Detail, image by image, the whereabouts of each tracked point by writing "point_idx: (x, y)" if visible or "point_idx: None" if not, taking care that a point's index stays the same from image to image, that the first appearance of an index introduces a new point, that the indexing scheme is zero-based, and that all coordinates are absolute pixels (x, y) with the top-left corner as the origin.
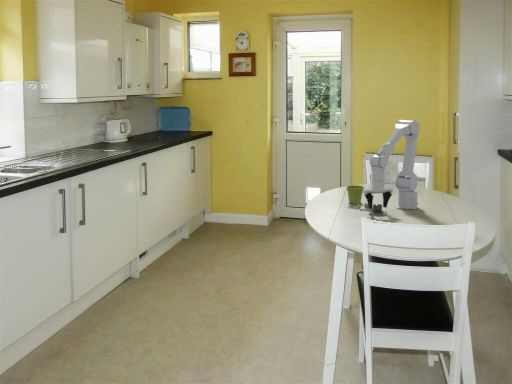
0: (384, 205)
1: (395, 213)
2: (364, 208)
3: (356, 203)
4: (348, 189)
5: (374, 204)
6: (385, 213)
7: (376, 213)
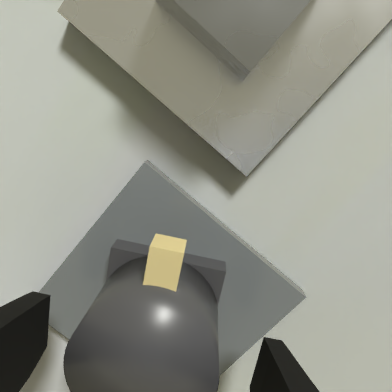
0: (260, 389)
1: (338, 384)
2: (121, 52)
3: None
4: None
5: (102, 341)
6: None
7: None
